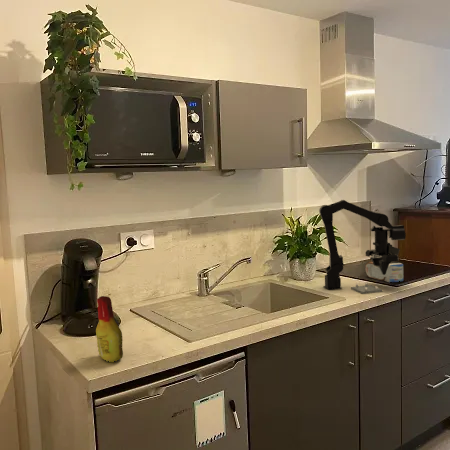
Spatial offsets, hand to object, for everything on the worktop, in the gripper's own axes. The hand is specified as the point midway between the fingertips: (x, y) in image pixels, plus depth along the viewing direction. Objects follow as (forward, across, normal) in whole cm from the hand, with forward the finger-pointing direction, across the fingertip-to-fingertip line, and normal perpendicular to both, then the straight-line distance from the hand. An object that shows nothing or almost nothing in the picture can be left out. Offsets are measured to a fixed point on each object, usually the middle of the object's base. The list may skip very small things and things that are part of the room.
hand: (381, 273), depth 217 cm
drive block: (+1, 0, 0) cm, 1 cm away
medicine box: (+7, +8, -12) cm, 16 cm away
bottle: (+7, -46, +123) cm, 132 cm away
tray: (+6, -2, +9) cm, 11 cm away
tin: (+7, +16, -7) cm, 19 cm away
